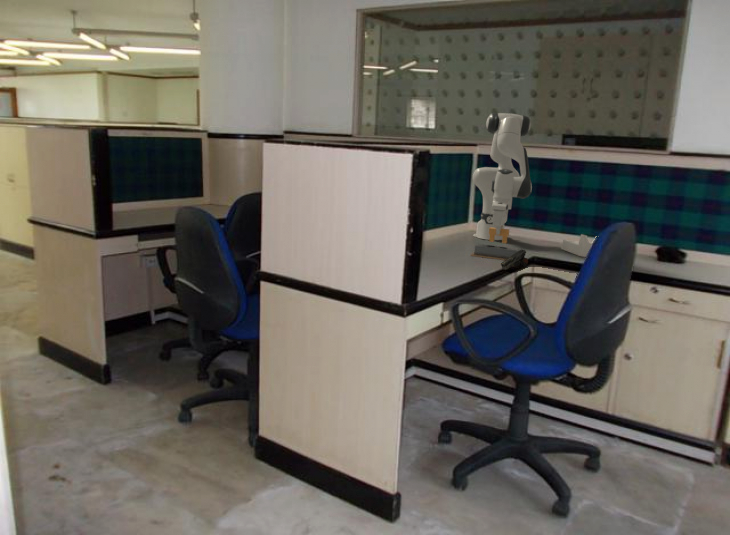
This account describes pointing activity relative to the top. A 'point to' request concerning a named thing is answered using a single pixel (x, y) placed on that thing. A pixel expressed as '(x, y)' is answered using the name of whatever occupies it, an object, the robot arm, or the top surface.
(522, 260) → the toy gun
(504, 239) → the orange arch block
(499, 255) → the rail board
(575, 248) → the tape dispenser
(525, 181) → the robot arm
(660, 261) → the top surface
